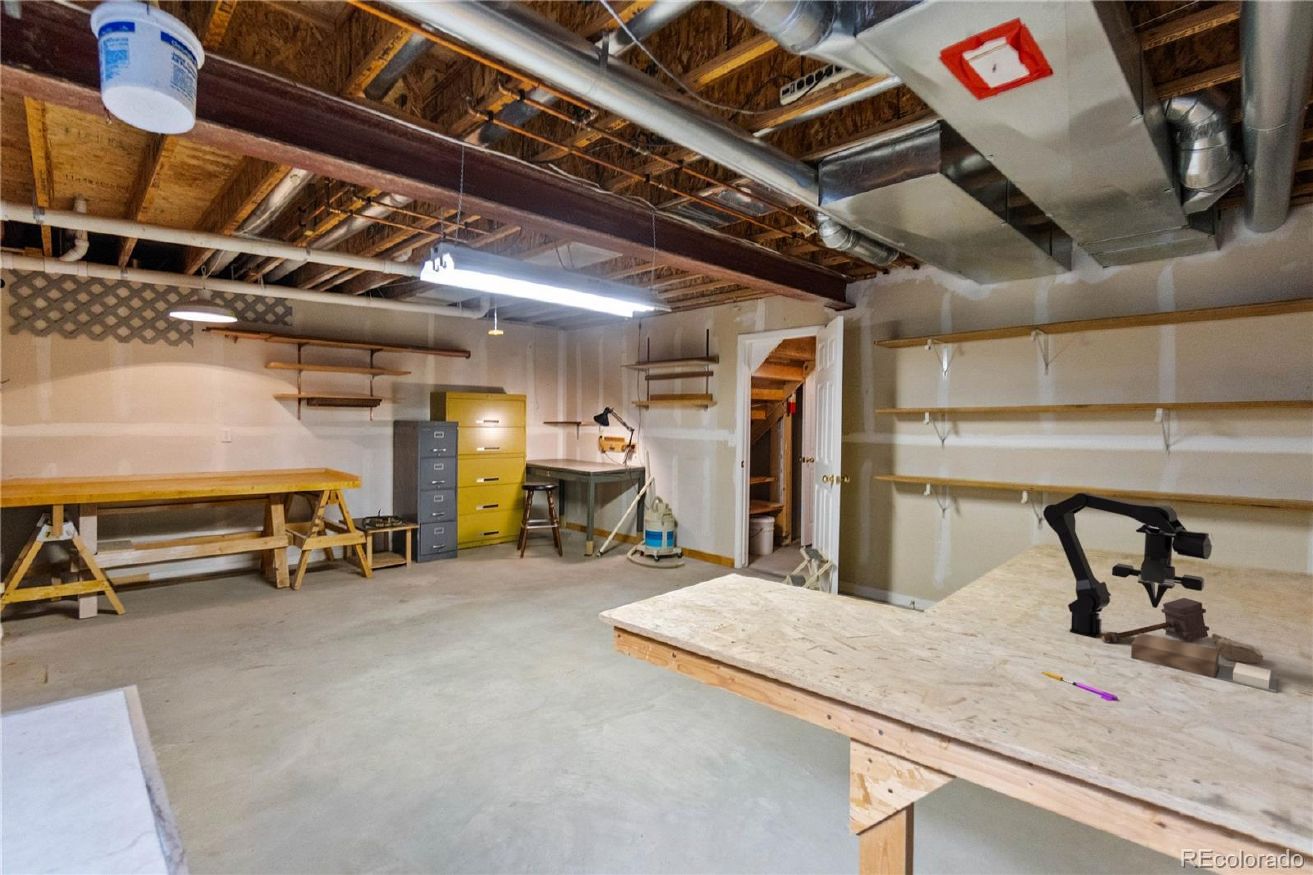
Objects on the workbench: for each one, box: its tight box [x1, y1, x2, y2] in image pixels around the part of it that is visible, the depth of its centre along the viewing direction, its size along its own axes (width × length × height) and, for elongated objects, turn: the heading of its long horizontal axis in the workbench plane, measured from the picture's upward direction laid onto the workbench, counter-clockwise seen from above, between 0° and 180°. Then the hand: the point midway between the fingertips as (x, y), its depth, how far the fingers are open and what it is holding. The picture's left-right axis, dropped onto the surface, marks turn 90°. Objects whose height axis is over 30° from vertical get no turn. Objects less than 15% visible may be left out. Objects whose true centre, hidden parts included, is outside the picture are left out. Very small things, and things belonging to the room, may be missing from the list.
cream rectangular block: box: [1233, 662, 1272, 689], centre depth 142 cm, size 6×9×2 cm, turn 131°
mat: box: [1216, 664, 1278, 694], centre depth 143 cm, size 10×12×1 cm
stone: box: [1211, 633, 1264, 664], centre depth 157 cm, size 9×11×5 cm
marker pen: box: [1041, 671, 1119, 702], centre depth 137 cm, size 3×1×16 cm
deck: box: [1130, 633, 1220, 679], centre depth 153 cm, size 16×12×4 cm
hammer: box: [1100, 597, 1210, 643], centre depth 169 cm, size 7×33×10 cm, turn 100°
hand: (1154, 607), depth 159 cm, fingers closed
